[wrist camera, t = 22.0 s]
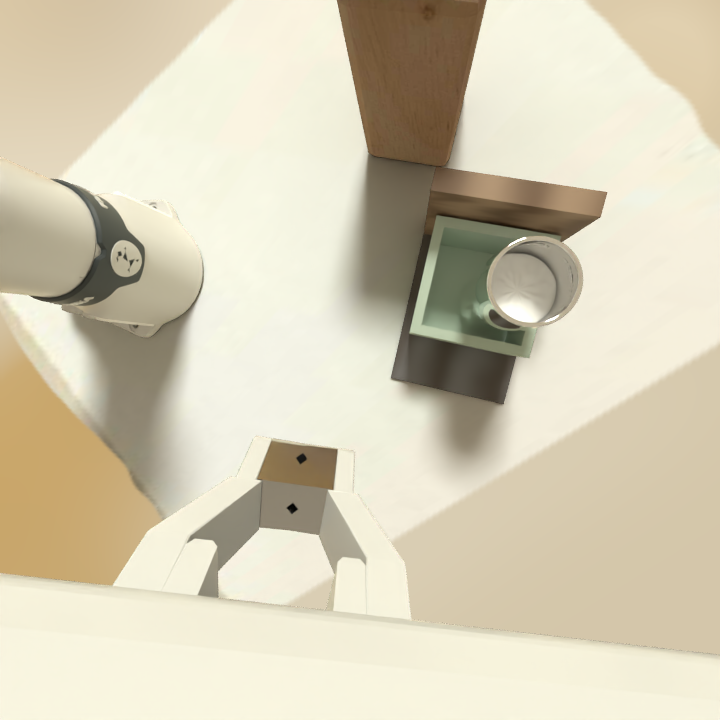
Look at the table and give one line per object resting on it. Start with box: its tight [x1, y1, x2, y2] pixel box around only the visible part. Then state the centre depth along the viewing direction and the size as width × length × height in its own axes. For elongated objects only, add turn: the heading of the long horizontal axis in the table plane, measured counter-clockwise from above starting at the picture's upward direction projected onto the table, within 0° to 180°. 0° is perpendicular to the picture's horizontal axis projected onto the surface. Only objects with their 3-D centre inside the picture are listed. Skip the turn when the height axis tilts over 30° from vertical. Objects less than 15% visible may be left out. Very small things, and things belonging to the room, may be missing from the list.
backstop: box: [391, 167, 607, 404], centre depth 34 cm, size 14×20×12 cm
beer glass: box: [459, 236, 583, 332], centre depth 31 cm, size 7×7×15 cm
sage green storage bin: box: [409, 215, 561, 358], centre depth 36 cm, size 12×12×7 cm
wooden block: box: [337, 0, 487, 166], centre depth 30 cm, size 10×10×20 cm
